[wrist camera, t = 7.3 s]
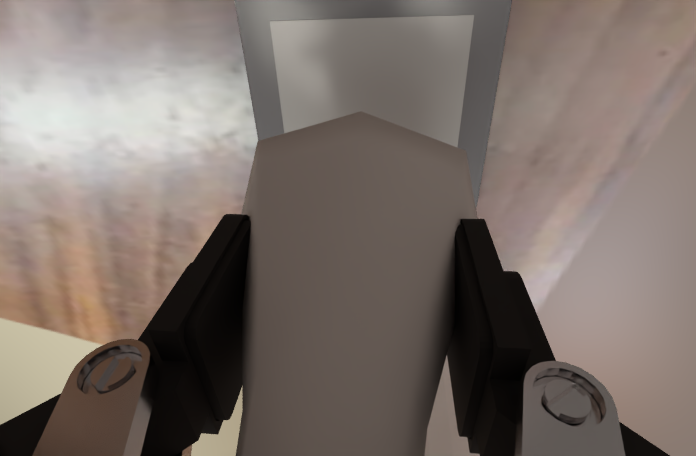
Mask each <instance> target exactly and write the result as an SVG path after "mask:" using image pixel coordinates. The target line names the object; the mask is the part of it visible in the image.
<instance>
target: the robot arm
mask: <svg viewBox="0 0 696 456" xmlns="http://www.w3.org/2000/svg"><path fill="white" fill-rule="evenodd" d="M250 228H251V221H250V220H249V216H248V215H243V214H226V215H224V216H223V218H222V219H221V221H220V222H219V224H218V225H217V227H216V228H215V230H214V231H213V233H212V234H211V236H210V237H209V239H208V240H207V242H206V243H205V245H204V246H203V248H202V249H201V251H200V252H199V254H198V255H197V257H196V258H195V260H194V261H193V262H192V263H190V264H189V266H188V267H187V268H186V269H185V271H184V272H183V274H182V275H181V277H180V278H179V280H178V281H177V283H176V284H175V286H174V287H173V289H172V290H171V292H170V293H169V295H168V296H167V298H166V299H165V301H164V302H163V303H162V305H161V306H160V308H159V309H158V311H157V312H156V314H155V315H154V317H153V318H152V320H151V321H150V323H149V324H148V326H147V327H146V329H145V330H144V332H143V333H142V335H141V336H140V338H139V339H138V340H134V339H121V340H117V341H113V342H110V343H107V344H105V345H103V346H101V347H99V348H97V349H95V350H94V351H92V352H91V353H89V354H88V355H86V356H85V357H84V358H83V359H82V360H81V361H80V362H79V363H78V364H77V365H76V366H75V368H74V370H73V371H72V373H71V374H70V376H69V378H68V380H67V383H66V385H65V387H64V389H63V391H62V393H61V394H59V395H57V396H55V397H54V398H51V399H49V400H48V401H46V402H44V403H42V404H40V405H38V406H36V407H34V408H32V409H30V410H28V411H26V412H24V413H22V414H21V415H19V416H17V417H15V418H13V419H11V420H9V421H7V422H5V423H3V424H1V425H0V456H191V450H192V444H193V443H195V442H196V441H198V440H199V437H200V434H201V433H207V434H218V433H219V430H220V428H221V425H222V422H223V420H229V419H230V417H231V415H232V413H233V410H234V407H235V404H236V402H237V399H238V396H239V393H240V390H241V387H242V385H243V343H242V308H243V299H244V289H245V279H246V269H247V258H248V248H249V238H250ZM447 358H448V365H449V372H450V380H451V387H452V394H453V401H454V408H455V415H456V422H457V429H458V434H459V436H460V437H467V439H468V445H469V452H470V453H474V454H480V456H670V455H668V454H666V453H665V452H663V451H662V450H661V449H659V448H658V447H656V446H655V445H653V444H652V443H650V442H649V441H647V440H646V439H644V438H643V437H641V436H640V435H638V434H637V433H635V432H634V431H632V430H631V429H629V428H628V427H626V426H625V425H623V424H622V423H620V422H619V420H618V414H617V409H616V406H615V403H614V401H613V398H612V396H611V395H610V393H609V392H608V391H607V389H606V388H605V386H604V385H603V384H602V383H600V382H599V381H598V380H597V379H596V378H595V377H594V376H593V375H591V374H589V373H588V372H586V371H584V370H583V369H581V368H579V367H576V366H574V365H571V364H568V363H565V362H558V361H556V360H555V358H554V355H553V353H552V350H551V348H550V345H549V343H548V341H547V338H546V336H545V333H544V331H543V328H542V326H541V324H540V321H539V319H538V316H537V314H536V312H535V309H534V307H533V304H532V302H531V299H530V297H529V295H528V292H527V290H526V287H525V285H524V282H523V280H522V278H521V276H520V274H519V273H518V272H511V271H503V269H502V266H501V263H500V260H499V258H498V255H497V252H496V249H495V247H494V244H493V241H492V238H491V236H490V233H489V230H488V227H487V225H486V222H485V220H484V219H461V224H459V225H458V227H457V230H456V232H455V326H454V330H453V333H452V337H451V341H450V345H449V348H448V352H447Z"/></svg>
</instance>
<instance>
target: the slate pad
mask: <svg viewBox="0 0 696 456" xmlns="http://www.w3.org/2000/svg"><path fill="white" fill-rule="evenodd" d="M234 1H235V6H236V12H237V18H238V24H239V30H240V36H241V41H242V47H243V53H244V59H245V65H246V71H247V76H248V82H249V88H250V94H251V100H252V106H253V111H254V117H255V123H256V129H257V135H258V141H260V140H263V139H267V138H270V137H274V136H277V135H280V134H284V133H287V132H291V131H294V130H298V129H301V128H305V127H308V126H312V125H315V124H319V123H322V122H326V121H329V120H332V119H336V118H339V117H343V116H346V115H350V114H353V113H357V112H360V111H362V112H365V113H367V114H370V115H372V116H375V117H378V118H380V119H383V120H386V121H388V122H391V123H394V124H396V125H399V126H402V127H404V128H407V129H410V130H412V131H415V132H418V133H420V134H423V135H426V136H428V137H431V138H433V139H436V140H439V141H441V142H444V143H447V144H449V145H452V146H455V147H457V148H460V149H463V150H465V151H466V153H467V159H468V165H469V171H470V177H471V183H472V189H473V195H474V201H475V207H477V202H478V196H479V190H480V184H481V178H482V172H483V167H484V161H485V155H486V149H487V143H488V137H489V132H490V126H491V120H492V114H493V108H494V102H495V97H496V91H497V85H498V79H499V73H500V67H501V62H502V56H503V50H504V44H505V38H506V32H507V27H508V21H509V15H510V9H511V3H512V0H234Z"/></svg>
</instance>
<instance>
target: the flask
mask: <svg viewBox="0 0 696 456" xmlns="http://www.w3.org/2000/svg"><path fill="white" fill-rule="evenodd" d="M242 214H243V215H248V216H249V220H250V221H251V228H250V238H249V248H248V258H247V269H246V279H245V289H244V299H243V308H242V343H243V412H242V418H241V426H240V432H239V438H238V445H237V452H236V456H425V446H426V436H427V428H428V424H429V420H430V416H431V413H432V409H433V405H434V401H435V398H436V394H437V390H438V386H439V382H440V379H441V375H442V371H443V367H444V364H445V360H446V356H447V352H448V348H449V345H450V341H451V337H452V333H453V330H454V326H455V232H456V230H457V227H458V225H459V224H461V219H477V213H476V207H475V201H474V195H473V189H472V183H471V177H470V171H469V165H468V159H467V153H466V151H465V150H463V149H460V148H457V147H455V146H452V145H449V144H447V143H444V142H441V141H439V140H436V139H433V138H431V137H428V136H426V135H423V134H420V133H418V132H415V131H412V130H410V129H407V128H404V127H402V126H399V125H396V124H394V123H391V122H388V121H386V120H383V119H380V118H378V117H375V116H372V115H370V114H367V113H365V112H362V111H360V112H357V113H353V114H350V115H346V116H343V117H339V118H336V119H332V120H329V121H326V122H322V123H319V124H315V125H312V126H308V127H305V128H301V129H298V130H294V131H291V132H287V133H284V134H280V135H277V136H274V137H270V138H267V139H263V140H260V141H258V143H257V147H256V151H255V156H254V160H253V165H252V169H251V174H250V178H249V183H248V187H247V192H246V196H245V201H244V205H243V209H242Z"/></svg>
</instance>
